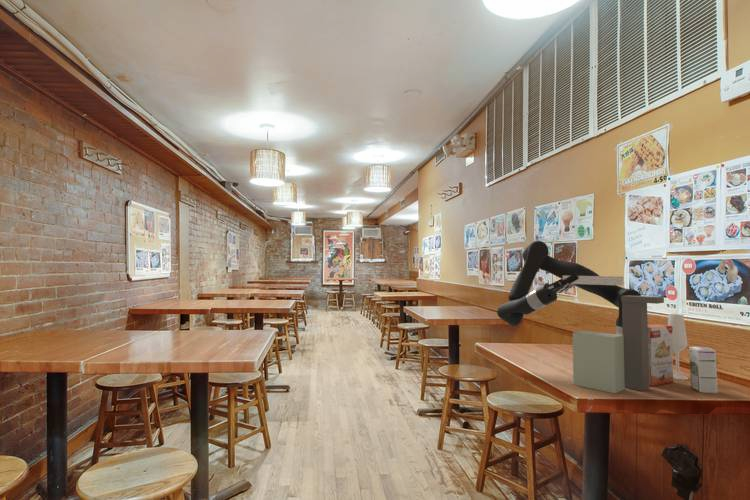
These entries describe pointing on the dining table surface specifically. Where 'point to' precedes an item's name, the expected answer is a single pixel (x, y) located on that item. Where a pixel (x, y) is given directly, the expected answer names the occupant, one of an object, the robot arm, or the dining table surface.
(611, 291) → the robot arm
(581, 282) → the aluminium bar
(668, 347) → the cracker box
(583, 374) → the block
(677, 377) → the champagne flute
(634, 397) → the dining table surface
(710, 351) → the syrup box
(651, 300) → the pedestal stand
